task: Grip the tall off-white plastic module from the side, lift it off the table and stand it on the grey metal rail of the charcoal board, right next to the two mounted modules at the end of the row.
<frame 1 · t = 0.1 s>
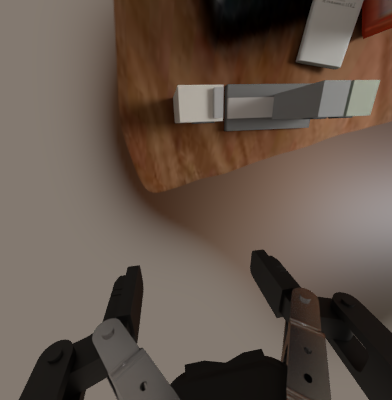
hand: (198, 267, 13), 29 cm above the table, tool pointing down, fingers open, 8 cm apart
module: (189, 110, 36), on the table
external hard drive: (327, 26, 34), point 1 cm above the table, touching file binder
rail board: (267, 108, 38), on the table
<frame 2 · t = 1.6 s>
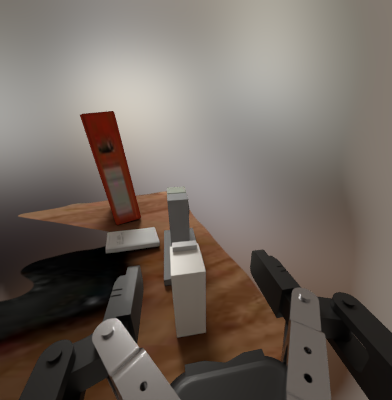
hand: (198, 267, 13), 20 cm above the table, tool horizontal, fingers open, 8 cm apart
file binder: (125, 211, 68), on the table
module: (189, 316, 31), on the table
external hard drive: (133, 242, 49), point 1 cm above the table
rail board: (181, 253, 46), on the table
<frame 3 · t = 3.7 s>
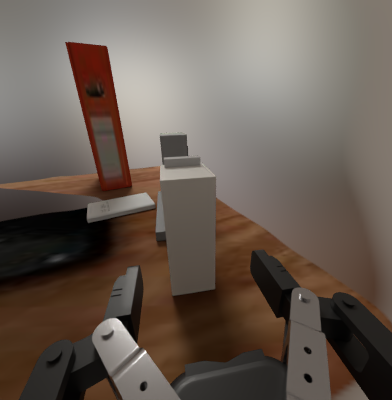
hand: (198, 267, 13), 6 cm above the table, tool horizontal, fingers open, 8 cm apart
file binder: (114, 181, 59), on the table
module: (190, 271, 22), on the table
external hard drive: (122, 210, 40), on the table
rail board: (178, 212, 37), on the table
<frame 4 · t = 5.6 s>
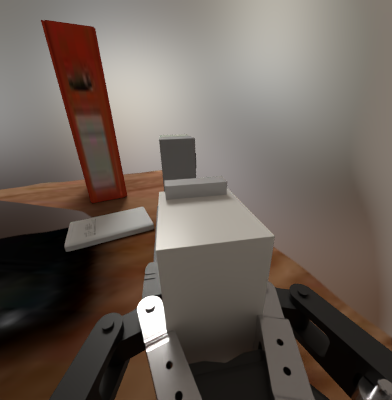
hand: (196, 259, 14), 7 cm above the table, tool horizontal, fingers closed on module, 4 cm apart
file binder: (107, 190, 51), on the table
module: (204, 353, 14), on the table, touching gripper
external hard drive: (112, 231, 32), on the table
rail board: (183, 236, 29), on the table
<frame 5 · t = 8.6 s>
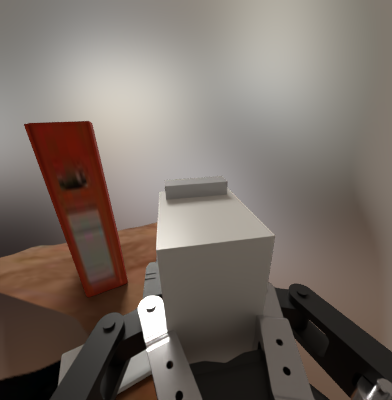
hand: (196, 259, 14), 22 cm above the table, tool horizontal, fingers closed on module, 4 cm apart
file binder: (105, 265, 46), on the table
module: (205, 353, 14), point 15 cm above the table, touching gripper
external hard drive: (112, 365, 27), on the table
when the fingers open (10 cm above the table, at t = 11.3 s): module drops 1 cm, resting on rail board.
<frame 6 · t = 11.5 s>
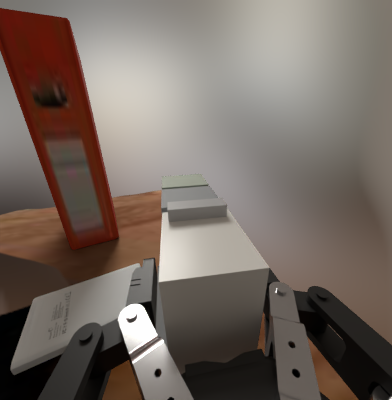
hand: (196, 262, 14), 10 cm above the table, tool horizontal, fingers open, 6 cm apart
file binder: (96, 224, 41), on the table
module: (205, 365, 15), point 2 cm above the table, touching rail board
external hard drive: (94, 311, 22), on the table
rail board: (197, 333, 19), on the table
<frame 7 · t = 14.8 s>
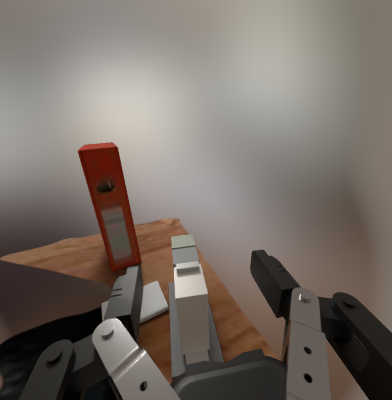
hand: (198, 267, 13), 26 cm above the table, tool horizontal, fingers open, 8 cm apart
file binder: (123, 251, 59), on the table
module: (193, 332, 33), point 2 cm above the table, touching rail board
external hard drive: (135, 310, 40), on the table
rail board: (191, 320, 37), on the table
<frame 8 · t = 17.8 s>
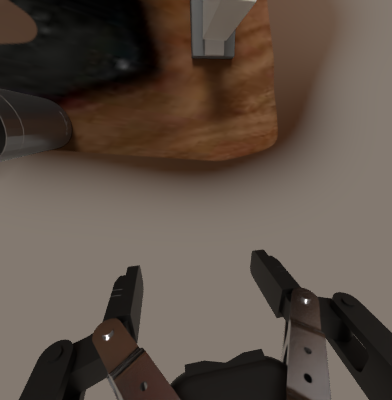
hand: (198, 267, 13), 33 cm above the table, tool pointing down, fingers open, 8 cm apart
module: (215, 18, 33), point 2 cm above the table, touching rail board
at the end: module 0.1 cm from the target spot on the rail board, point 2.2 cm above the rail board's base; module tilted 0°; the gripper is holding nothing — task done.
